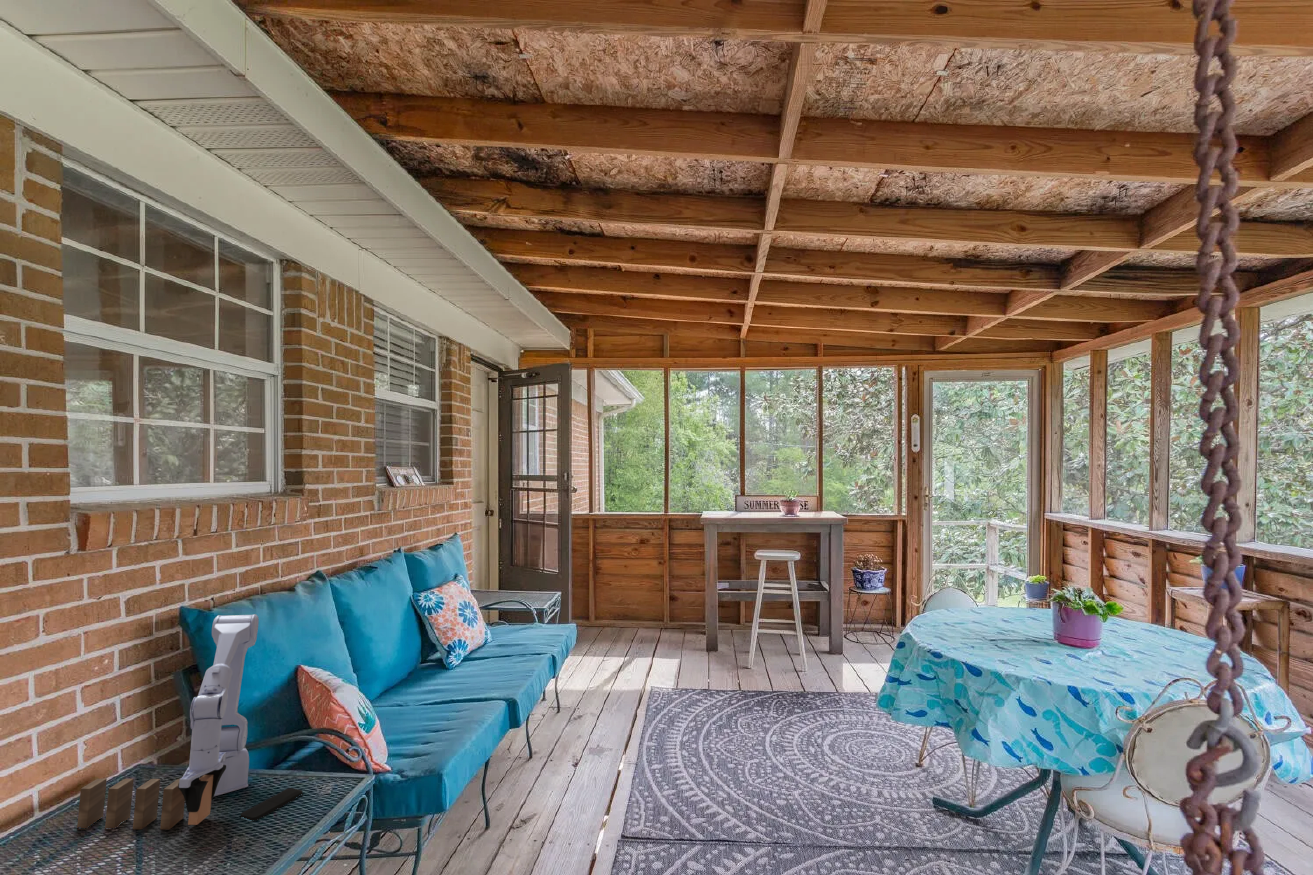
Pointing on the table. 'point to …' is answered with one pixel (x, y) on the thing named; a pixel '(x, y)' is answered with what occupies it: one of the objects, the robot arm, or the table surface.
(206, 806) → the domino
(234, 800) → the table surface
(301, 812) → the table surface
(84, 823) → the domino
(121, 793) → the domino
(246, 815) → the remote control
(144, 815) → the domino
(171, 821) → the domino
